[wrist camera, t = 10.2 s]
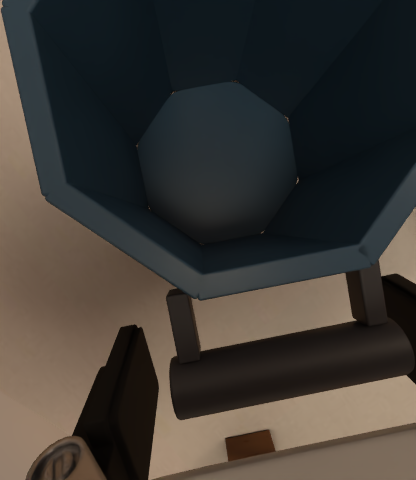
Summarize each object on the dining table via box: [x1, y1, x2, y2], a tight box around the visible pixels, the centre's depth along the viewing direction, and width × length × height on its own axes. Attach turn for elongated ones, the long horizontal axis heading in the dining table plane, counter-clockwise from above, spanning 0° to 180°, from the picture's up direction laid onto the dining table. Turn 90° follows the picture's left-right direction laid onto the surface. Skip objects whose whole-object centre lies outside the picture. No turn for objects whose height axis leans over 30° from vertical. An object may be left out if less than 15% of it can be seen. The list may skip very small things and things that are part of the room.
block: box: [226, 430, 276, 462], centre depth 23 cm, size 4×4×4 cm
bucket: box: [1, 0, 416, 420], centre depth 11 cm, size 10×10×13 cm
